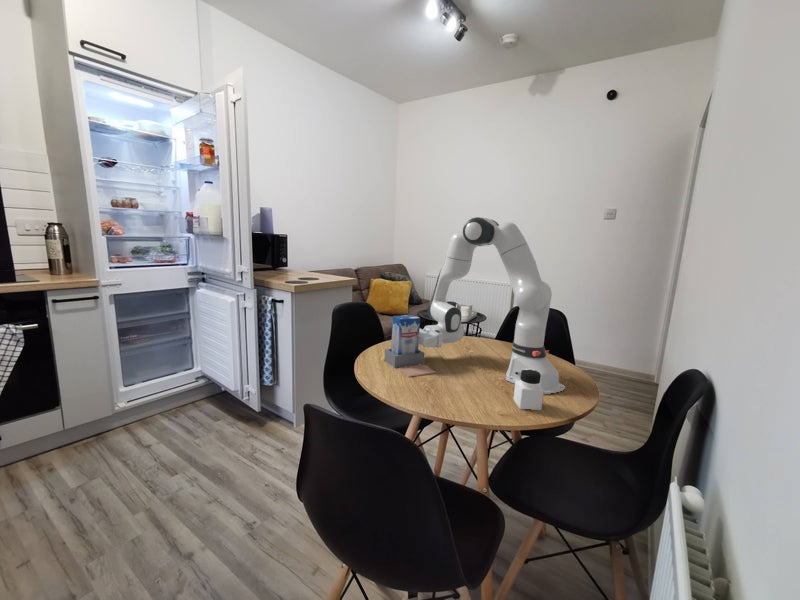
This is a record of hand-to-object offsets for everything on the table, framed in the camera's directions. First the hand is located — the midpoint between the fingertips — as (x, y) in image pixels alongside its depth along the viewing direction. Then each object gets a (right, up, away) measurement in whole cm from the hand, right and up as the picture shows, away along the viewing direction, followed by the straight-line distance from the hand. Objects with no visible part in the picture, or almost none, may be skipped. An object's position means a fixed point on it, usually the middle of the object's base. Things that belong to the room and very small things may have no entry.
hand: (403, 337), depth 147 cm
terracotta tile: (+5, -13, -7) cm, 16 cm away
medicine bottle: (+41, -19, -32) cm, 55 cm away
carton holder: (0, -11, +2) cm, 11 cm away
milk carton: (0, -11, +2) cm, 11 cm away
